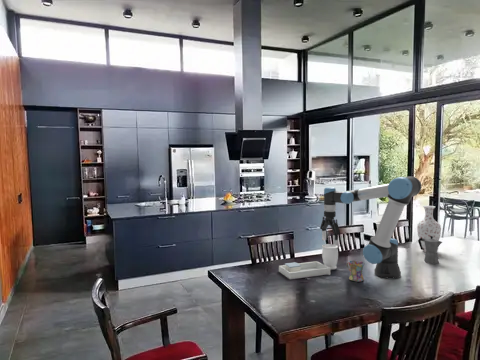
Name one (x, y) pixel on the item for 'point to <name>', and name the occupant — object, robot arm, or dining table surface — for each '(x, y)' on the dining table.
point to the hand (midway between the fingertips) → (329, 242)
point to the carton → (292, 269)
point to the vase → (428, 226)
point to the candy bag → (356, 270)
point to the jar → (330, 255)
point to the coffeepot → (430, 249)
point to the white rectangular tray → (306, 270)
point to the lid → (292, 265)
